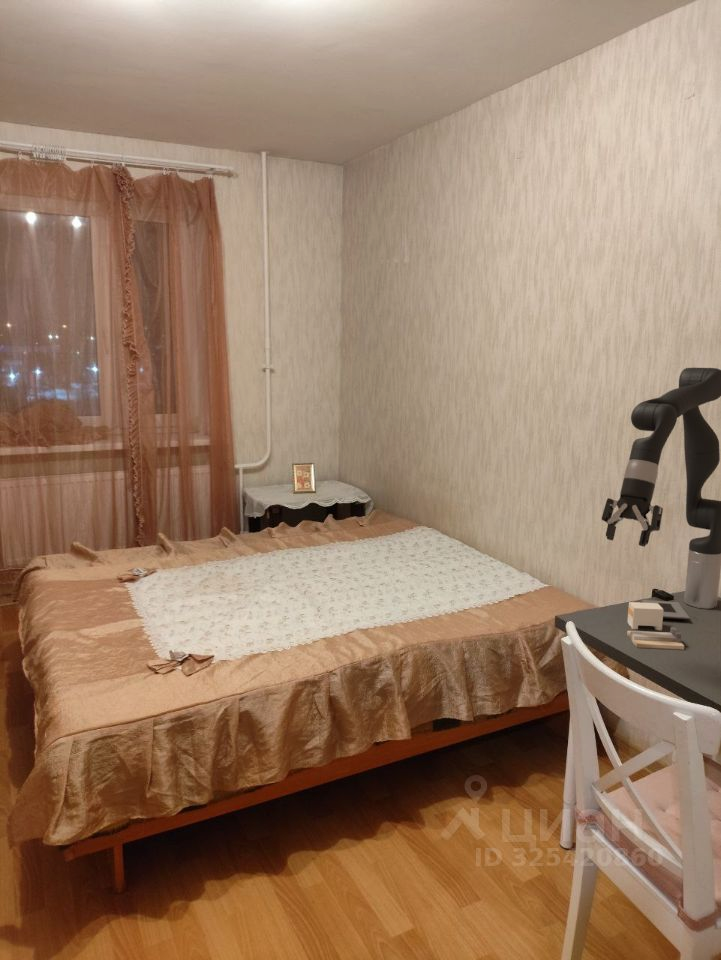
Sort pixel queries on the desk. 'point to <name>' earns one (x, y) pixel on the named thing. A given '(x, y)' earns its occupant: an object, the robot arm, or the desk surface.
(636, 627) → the white rectangular block
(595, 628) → the desk surface
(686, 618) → the electrical outlet
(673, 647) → the rail board
